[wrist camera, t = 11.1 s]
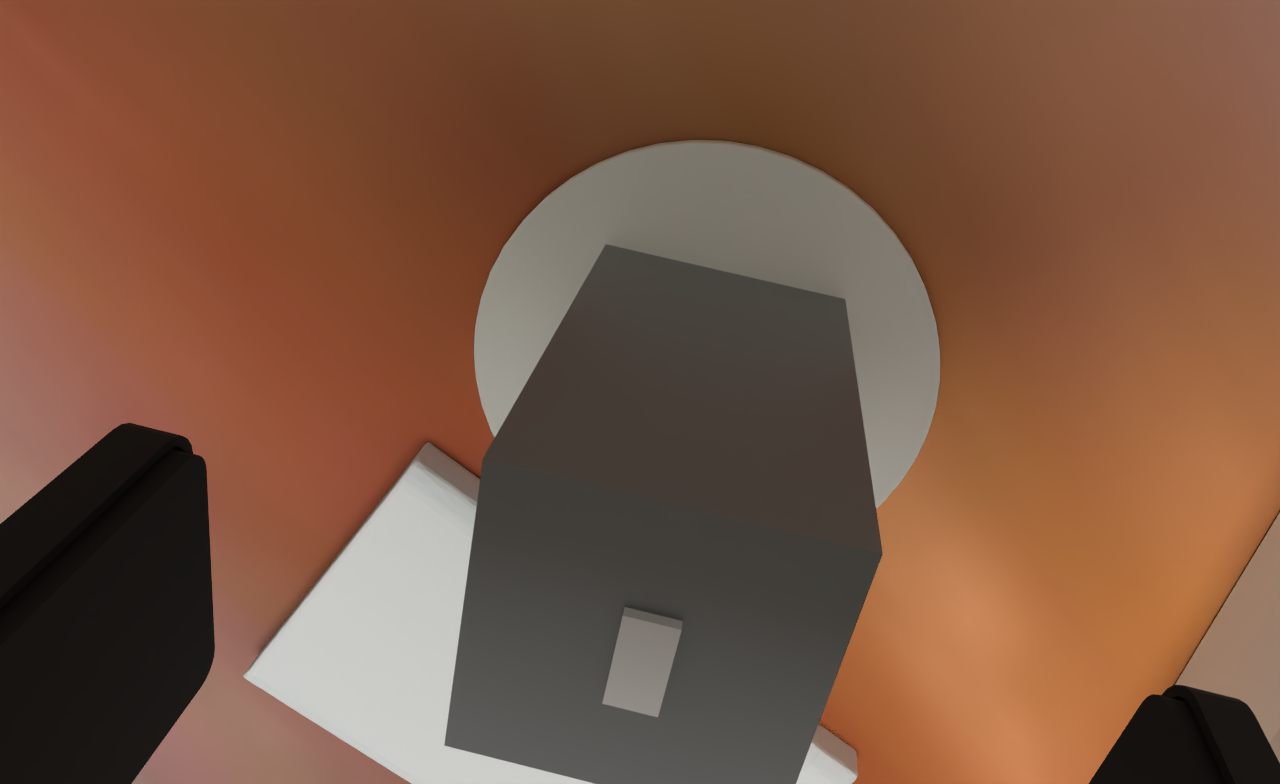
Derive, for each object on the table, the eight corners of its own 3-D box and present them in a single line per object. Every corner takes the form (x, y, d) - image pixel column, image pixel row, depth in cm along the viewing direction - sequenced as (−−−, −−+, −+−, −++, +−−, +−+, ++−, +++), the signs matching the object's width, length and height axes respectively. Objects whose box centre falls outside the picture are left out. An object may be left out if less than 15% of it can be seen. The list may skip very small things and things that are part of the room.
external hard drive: (436, 427, 21) (856, 733, 23) (269, 638, 25) (649, 888, 27) (410, 465, 20) (861, 787, 22) (237, 683, 23) (641, 943, 25)
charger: (605, 243, 18) (478, 465, 11) (845, 298, 18) (883, 562, 10) (567, 450, 20) (440, 754, 13) (783, 501, 20) (777, 840, 12)
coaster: (511, 88, 17) (506, 91, 17) (1009, 204, 17) (1014, 210, 17) (456, 501, 21) (450, 512, 21) (856, 602, 21) (857, 613, 21)
